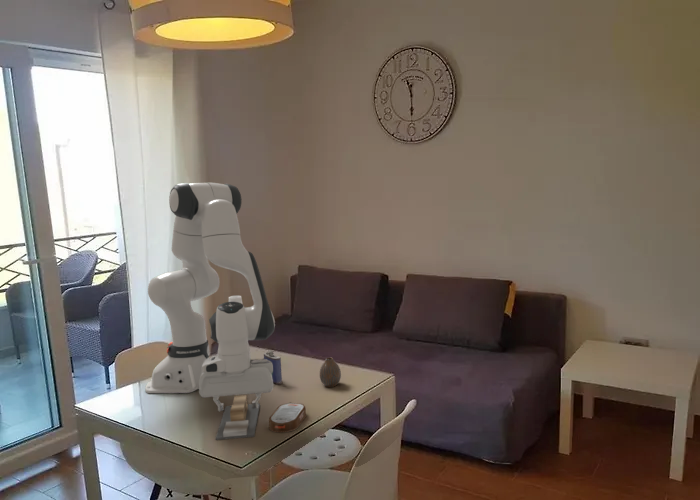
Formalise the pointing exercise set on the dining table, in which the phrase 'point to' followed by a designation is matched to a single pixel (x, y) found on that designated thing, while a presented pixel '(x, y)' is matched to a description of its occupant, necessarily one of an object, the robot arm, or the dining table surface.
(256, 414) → the mat
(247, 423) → the turner
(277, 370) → the flask
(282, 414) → the tin
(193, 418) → the dining table surface
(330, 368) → the vase
